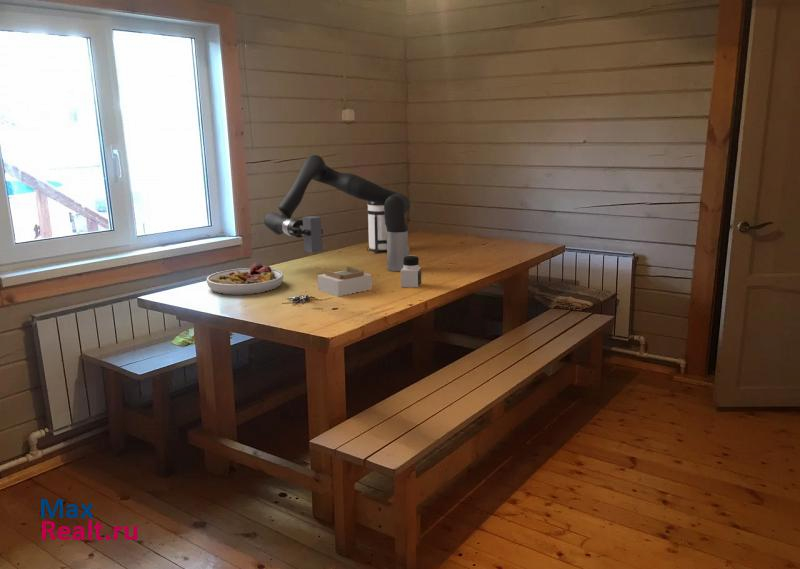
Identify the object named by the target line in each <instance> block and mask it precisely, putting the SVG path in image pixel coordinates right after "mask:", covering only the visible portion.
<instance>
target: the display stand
mask: <svg viewBox="0 0 800 569" xmlns="http://www.w3.org/2000/svg"><path fill="white" fill-rule="evenodd" d="M372 276H373V275H372V274H370V273H365V271H364V270H361V269H358V268H354V267H350V266H347V267H346V269H344V270H340V271H339V270H338V271H334V272H333V271H330V270H325V271H324V273H323V274H317V291H320V292H323V293H327V294H328V295H329V294H330V295H332V296H334V295H335V297H337V296H338V297H339V296H340V297H344V296H343V295H345V296H348V295H347V294H349V295H353V294H352V293H354V294H357V293H356V292H359V293H362V292H361V291H364V292H367V291H366V290H369V291H371V290H370V289H372V290H373V279H372ZM338 297H337V298H338Z"/></svg>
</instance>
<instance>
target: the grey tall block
mask: <svg viewBox="0 0 800 569" xmlns="http://www.w3.org/2000/svg"><path fill="white" fill-rule="evenodd" d="M302 221H303V229H305V230H310V231H311V236H307V235H304V236H303V251H304V252H307V253H311V254H313V253H319V252H323V234H322V230H321V229H322V217H320V216H315V215H307V216H303V217H302Z"/></svg>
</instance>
